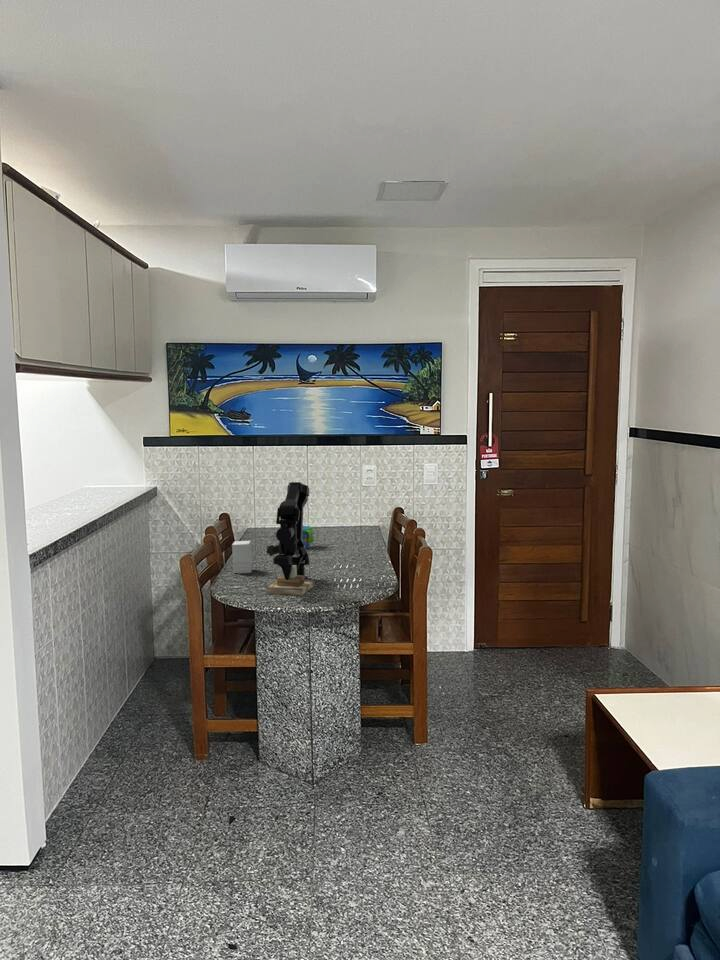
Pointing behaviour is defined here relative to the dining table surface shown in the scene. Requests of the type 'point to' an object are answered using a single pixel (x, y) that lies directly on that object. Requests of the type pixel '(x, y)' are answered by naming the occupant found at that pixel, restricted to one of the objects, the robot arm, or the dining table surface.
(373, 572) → the dining table surface
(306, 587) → the birch dock
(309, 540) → the snack cup
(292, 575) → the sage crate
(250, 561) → the supplement box
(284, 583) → the walnut pallet
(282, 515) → the robot arm
